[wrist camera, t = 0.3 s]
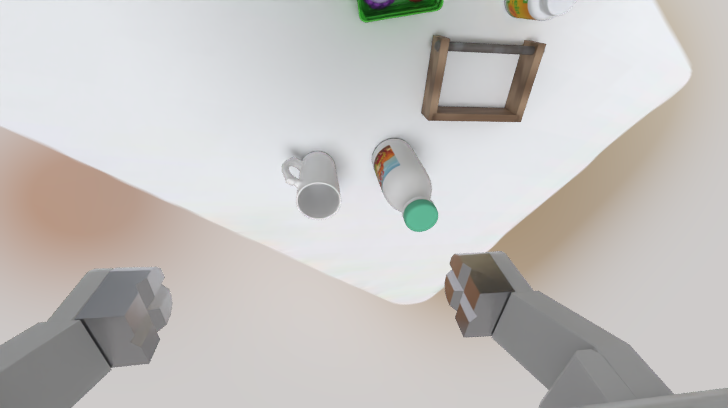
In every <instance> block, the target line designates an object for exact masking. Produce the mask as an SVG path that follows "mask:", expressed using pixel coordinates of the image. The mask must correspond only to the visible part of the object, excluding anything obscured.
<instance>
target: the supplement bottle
mask: <svg viewBox="0 0 728 408" xmlns="http://www.w3.org/2000/svg"><path fill="white" fill-rule="evenodd" d="M575 3H576V0H505V7H506V10H507V12H508V13H509V14H510V15H511V16H513V17H515V18H523V19H532V20H539V21H545V20H549V19H552V18H553V17H555V16H561V15H563V14H565V13H567V12H568V11H569V10H570V9H571V8H572V7H573V6H574V4H575Z"/></svg>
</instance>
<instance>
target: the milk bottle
mask: <svg viewBox="0 0 728 408" xmlns="http://www.w3.org/2000/svg"><path fill="white" fill-rule="evenodd" d="M372 163H373V167H374V170H375V173H376V176H377V178H378V181H379V184H380V187H381V189H382V192H383V194H384V196H385V198H386V200H387V201H388V203H389V204H390V205H391V206H392V207H393V208H394V209H396V210H398V211H400V212H402V216H403V218H404V221H405V223H406V225H407V227H408V228H409V229H411V230H413V231H416V232H422V231H426V230H428V229H430V228H431V227H433V226H434V225H435V223H436V222H437V219H438V211H437V209H436V207H435V205H434V204H433V202H432V201H431V200H430V198H431V192H432V186H431V181H430V178H429V176H428V174H427V172H426V170H425V168H424V167H423V165H422V164H421V162H420V160H419V159H418V157H417V156H416V154H415V153H414V151H413V149H412V148H411V147H410V145H409V144H408V143H407V142H405V141H403V140H401V139H389V140H386V141H384V142H382V143H381V144H379V145H378V146H377V148H376V149H375V151H374V153H373V157H372Z"/></svg>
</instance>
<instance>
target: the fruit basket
mask: <svg viewBox="0 0 728 408" xmlns="http://www.w3.org/2000/svg"><path fill="white" fill-rule="evenodd" d="M357 2H358V10H359V17H360V19H361V20H362V21H363V22H365V23H367V22H373V21H378V20H384V19H389V18H396V17H402V16H408V15H414V14H420V13H426V12H433V11H438V10H439V9H441V7H442V5H443V0H357Z"/></svg>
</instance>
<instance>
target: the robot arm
mask: <svg viewBox="0 0 728 408" xmlns="http://www.w3.org/2000/svg"><path fill="white" fill-rule="evenodd" d="M450 266H451V268H452V270H451V271H450V272H449V273H448V274H447V275H446V279H445V294H446V298H447V300H448V303H449V305H450V306H451V307H452V308H454V309H455V310H456V311H457V313H456V316H455V319H456V321H457V323H458V326H459V328H460V330H461V332H462V334H463V337H479V336H480V337H481V336H492V338H493V339H494V340H495V341H496V342H497V343H498V344H499V345H500V346H501V347H503V348H504V349H505V350H506V351H507V352H508V353H509V354H510V355H511V356H512V357H514V358H515V359H516V360H517V361H518V362H519V363H520V364H521V365H522V366H523V367H524V368H525V369H527V370H528V371H529V372H530V373H531V374H532V375H533V376H534V377H535V378H536V379H537V380H539V381H540V382H541V383H542V384H543V385H544V386H545V387H546V388H547V389H548V390H549V391H548V392H547V394H546V395H545V397H544V398H543V399H542V401H541V403H540V405H539V408H728V388H723V389H715V390H708V391H698V392H691V393H683V394H673V393H672V391H671V390H670V389H669V388H668V387H667V386H666V385H665V384H664V383H663V381H662V380H661V379H660V378H659V377H658V376H657V375H656V374H655V372H653V370H652V369H651V368H650V367H649V366H648V365H647V364H646V363H645V361H644V360H643V359H642V358H641V357H640V356H639V355H638V354H637V352H635V350H634V349H633V348H632V347H631V346H630V345H629V344H627V343H626V342H624V341H622V340H621V339H619V338H617V337H616V336H614V335H612V334H611V333H609V332H607V331H606V330H604V329H602V328H601V327H599V326H597V325H595V324H594V323H592V322H590V321H589V320H587V319H585V318H584V317H582V316H580V315H579V314H577V313H575V312H573V311H572V310H570V309H568V308H567V307H565V306H563V305H561V304H560V303H558V302H557V301H555V300H553V299H552V298H550V297H548V296H546V295H545V294H543V293H541V292H540V291H533V290H532V288H531V287H530V286H529V284H528V283H527V281H526V280H525V279H524V277H523V276H522V275H521V273H520V272H519V271H518V269H517V268H516V267H515V265H514V264H513V263H512V261H511V260H510V259H509V257H508V256H507V255H506V254H505V253H504V252H502V251H499V252H498V251H497V252H485V253H484V252H482V253H463V254H454V255H453V256H452V257H451V261H450ZM164 278H165V277H164V274H163V272H162V270H161V268H158V267H129V268H103V269H93V270H90V271H88V272H87V273H86V274H85V276H84V277H83V278H82V279H81V280H80V282H79V283H78V284H77V285H76V286H75V288H74V289H73V290H72V291H71V293H70V294H69V295H68V296H67V297H66V299H65V300H64V301H63V302H62V304H61V305H60V306H59V307H58V308H57V310H56V311H55V312H54V313H53V315H52V316H51V317H50V318H49V319H48V321H47V322H41V323H37V324H36V325H34V326H32V327H31V328H29V329H27V330H25V331H24V332H22V333H20V334H19V335H17V336H15V337H14V338H12V339H10V340H9V341H7V342H5V343H4V344H2V345H0V408H71V407H72V406H74V405H75V404H76V403H77V402H78V401H79V400H80V399H81V398H82V397H83V396H84V395H85V394H86V393H87V392H88V391H89V390H90V389H92V388H93V387H94V386H95V385H96V384H97V383H98V382H99V381H100V380H101V379H102V378H103V377H104V376H105V375H106V374H107V373H108V372H110V370H111V368H112V367H122V366H131V365H140V364H149V363H150V361H151V358H152V356H153V354H154V352H155V349H156V347H157V345H158V343H159V341H160V338H159V336H158V334H157V332H158V331H159V330H160V329H162V328H163V327H164V326H165V325H166V324H167V322H168V320H169V317H170V315H171V310H172V296H171V293H170V290H169V289H168V288H166V287H165V286H164V285H162V282H163V280H164Z"/></svg>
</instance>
